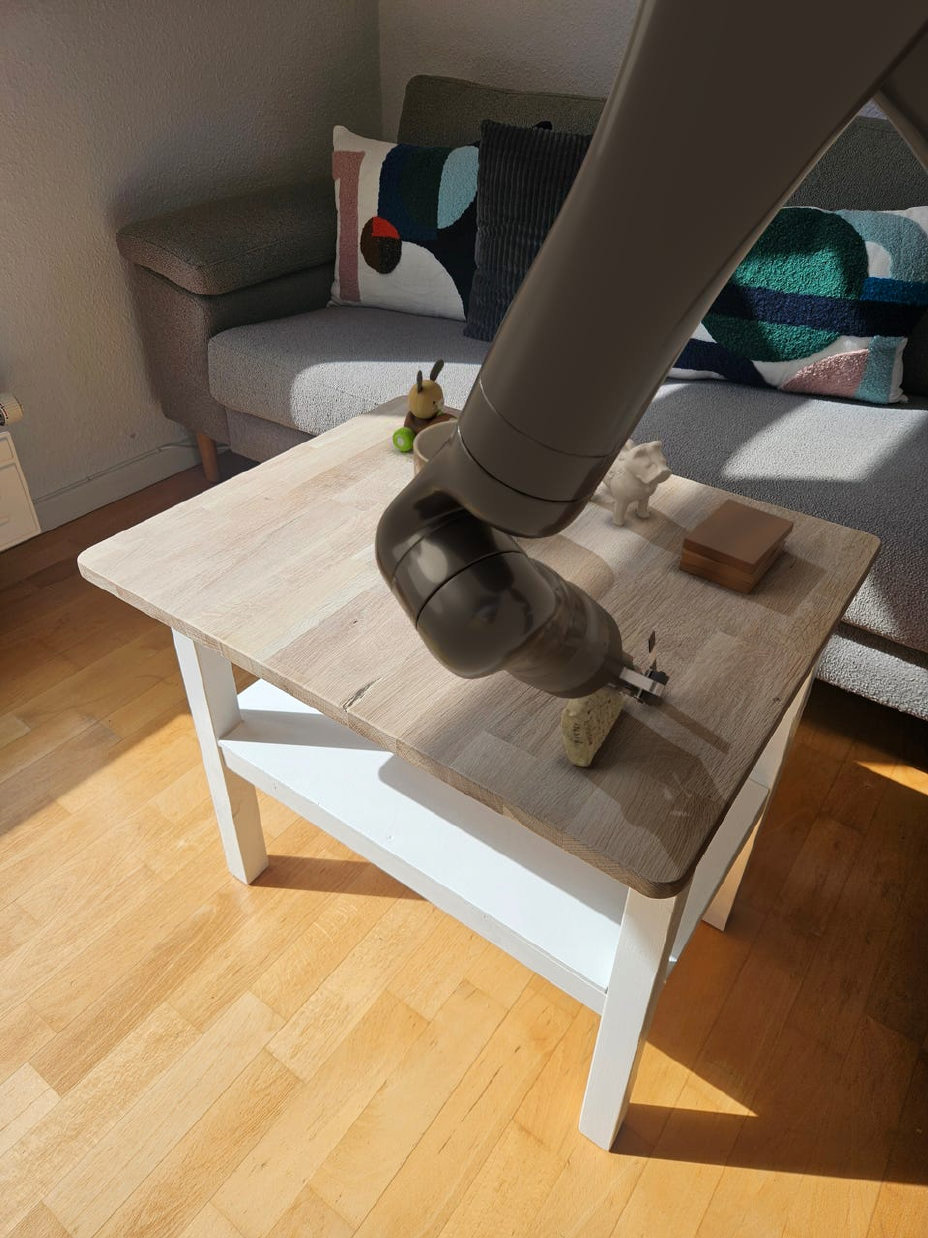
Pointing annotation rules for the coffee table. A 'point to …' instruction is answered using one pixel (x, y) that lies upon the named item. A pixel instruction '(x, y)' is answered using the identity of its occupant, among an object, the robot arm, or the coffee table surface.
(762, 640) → the coffee table surface
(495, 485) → the robot arm
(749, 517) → the slab pile
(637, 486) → the dog figurine
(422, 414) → the bunny pull toy
